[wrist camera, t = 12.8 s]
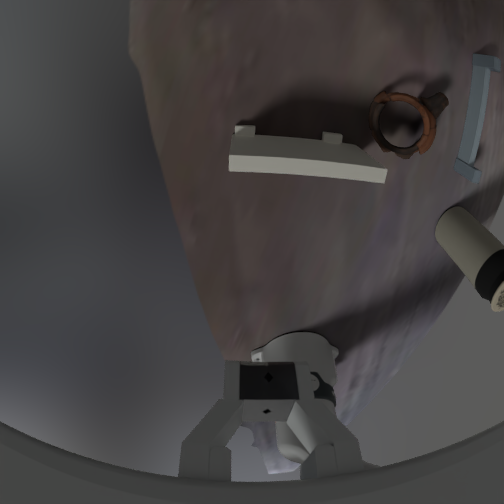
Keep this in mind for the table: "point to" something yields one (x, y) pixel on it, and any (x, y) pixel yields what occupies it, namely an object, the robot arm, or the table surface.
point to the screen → (302, 156)
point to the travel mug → (474, 253)
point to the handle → (475, 115)
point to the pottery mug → (426, 108)
